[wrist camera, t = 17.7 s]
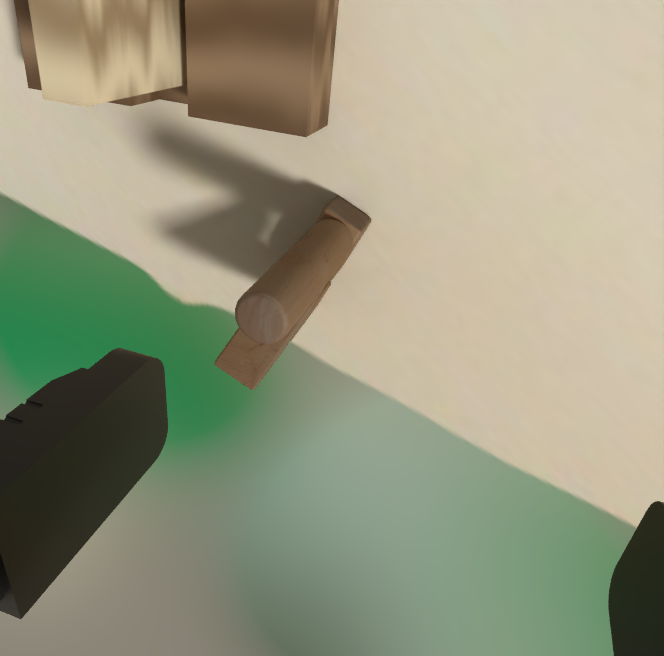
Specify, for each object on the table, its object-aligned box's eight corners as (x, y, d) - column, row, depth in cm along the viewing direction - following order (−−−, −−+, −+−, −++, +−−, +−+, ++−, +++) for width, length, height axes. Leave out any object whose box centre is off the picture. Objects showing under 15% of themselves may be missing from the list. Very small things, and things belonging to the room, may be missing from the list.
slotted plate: (45, -118, 43) (-8, -131, 39) (346, -92, 38) (323, -104, 34) (70, 81, 50) (28, 88, 46) (327, 125, 45) (305, 137, 41)
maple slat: (160, -73, 41) (12, -105, 30) (197, -70, 41) (60, -101, 29) (167, 76, 46) (43, 99, 35) (200, 81, 46) (85, 106, 34)
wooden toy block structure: (283, 286, 54) (185, 394, 39) (338, 193, 48) (246, 278, 33) (316, 308, 54) (230, 424, 39) (374, 218, 48) (299, 314, 33)
